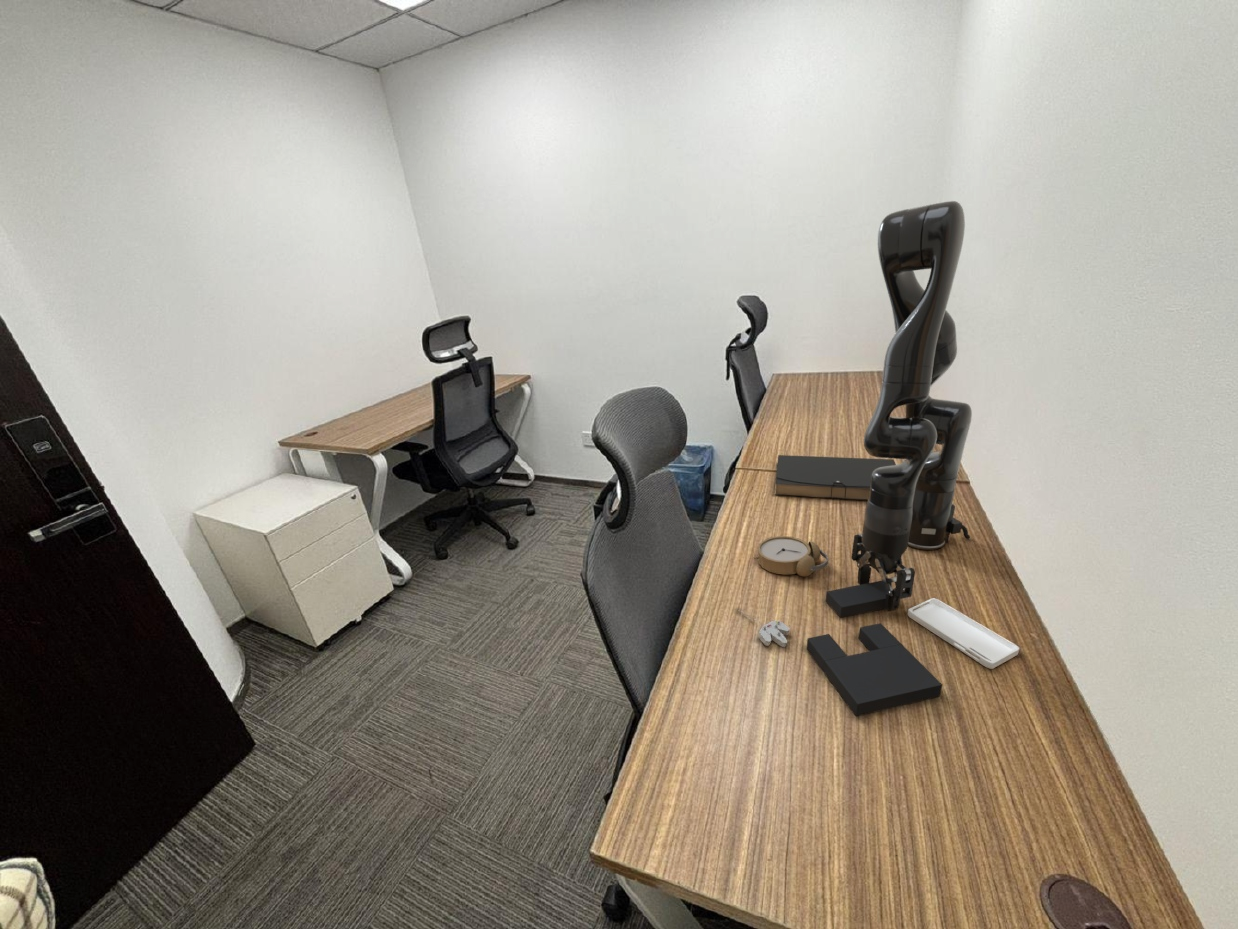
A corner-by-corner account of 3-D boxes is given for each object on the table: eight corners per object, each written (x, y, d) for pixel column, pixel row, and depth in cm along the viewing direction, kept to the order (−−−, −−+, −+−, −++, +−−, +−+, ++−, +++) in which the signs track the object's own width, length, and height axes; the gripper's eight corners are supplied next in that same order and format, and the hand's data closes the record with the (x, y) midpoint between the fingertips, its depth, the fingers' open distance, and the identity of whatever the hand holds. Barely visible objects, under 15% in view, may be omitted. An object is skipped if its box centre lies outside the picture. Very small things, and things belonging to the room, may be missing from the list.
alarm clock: (765, 532, 116) (832, 537, 107) (768, 550, 117) (834, 556, 108) (748, 556, 107) (820, 563, 98) (752, 576, 109) (822, 584, 100)
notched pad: (879, 634, 87) (880, 623, 86) (939, 696, 74) (942, 684, 73) (806, 649, 85) (807, 638, 84) (855, 716, 72) (857, 704, 71)
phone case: (1019, 654, 80) (933, 602, 93) (1021, 647, 79) (934, 596, 92) (990, 670, 78) (905, 615, 90) (991, 664, 77) (906, 609, 90)
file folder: (775, 482, 137) (778, 452, 158) (774, 495, 138) (778, 463, 159) (908, 490, 126) (892, 456, 147) (906, 504, 128) (891, 468, 148)
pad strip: (880, 590, 97) (882, 580, 96) (898, 606, 93) (899, 595, 92) (825, 601, 96) (826, 591, 95) (840, 618, 91) (841, 607, 90)
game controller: (781, 654, 84) (781, 642, 84) (722, 628, 92) (722, 617, 91) (794, 635, 88) (795, 624, 87) (737, 611, 96) (737, 600, 95)
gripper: (935, 539, 82) (920, 616, 88) (879, 502, 95) (870, 572, 101) (895, 546, 81) (883, 624, 87) (844, 508, 94) (837, 578, 100)
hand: (876, 596), depth 94 cm, fingers open, 7 cm apart
